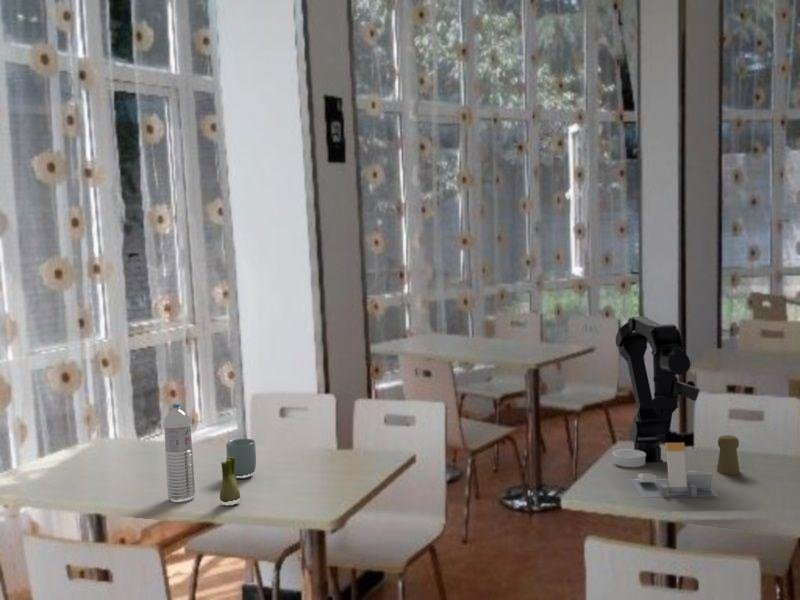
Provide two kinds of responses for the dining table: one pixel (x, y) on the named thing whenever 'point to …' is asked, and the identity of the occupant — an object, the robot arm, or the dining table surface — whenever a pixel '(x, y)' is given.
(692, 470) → the button
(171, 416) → the water bottle
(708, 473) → the grey rectangular panel
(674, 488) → the lever
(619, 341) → the robot arm
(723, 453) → the cork
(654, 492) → the grey tray
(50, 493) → the dining table surface
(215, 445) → the dining table surface
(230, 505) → the dining table surface
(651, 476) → the rocker
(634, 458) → the ramekin
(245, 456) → the cup
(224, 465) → the fennel bulb
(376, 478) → the dining table surface
